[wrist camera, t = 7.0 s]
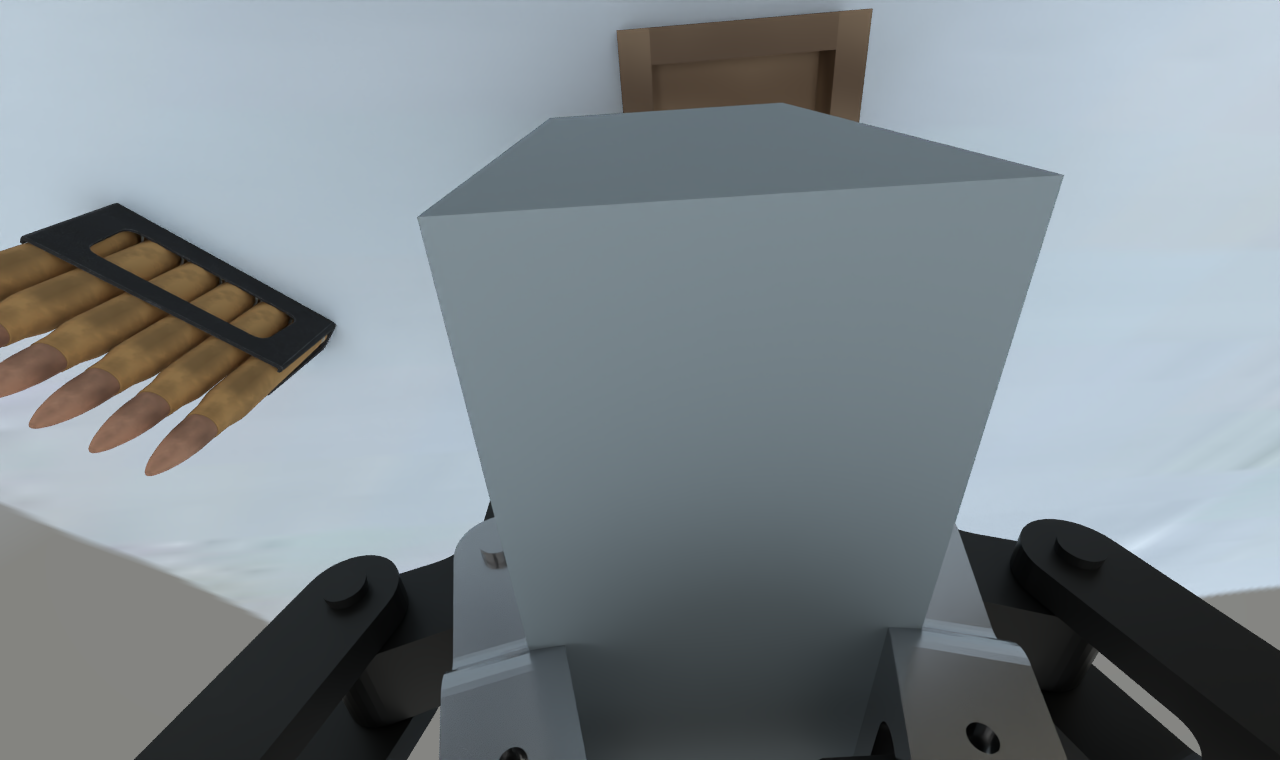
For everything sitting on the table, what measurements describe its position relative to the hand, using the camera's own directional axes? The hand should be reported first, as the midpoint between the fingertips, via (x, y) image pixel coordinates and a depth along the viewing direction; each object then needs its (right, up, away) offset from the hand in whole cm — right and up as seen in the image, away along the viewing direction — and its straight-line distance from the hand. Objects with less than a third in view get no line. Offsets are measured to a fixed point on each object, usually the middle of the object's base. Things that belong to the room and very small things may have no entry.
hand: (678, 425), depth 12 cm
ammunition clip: (-22, +6, +17) cm, 28 cm away
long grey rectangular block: (0, 0, +1) cm, 1 cm away
